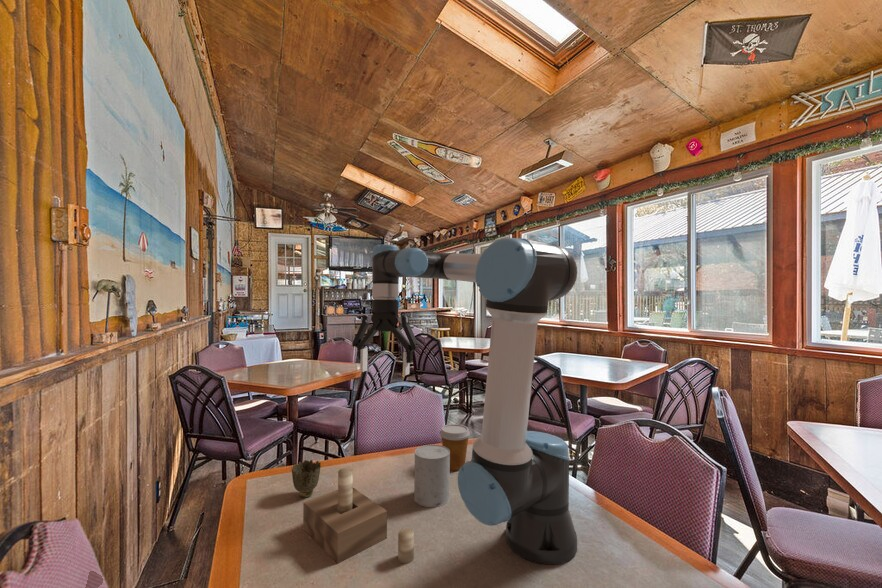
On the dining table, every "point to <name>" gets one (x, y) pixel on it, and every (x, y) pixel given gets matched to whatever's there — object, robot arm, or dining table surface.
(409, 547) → the short pin
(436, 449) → the speckled white tub
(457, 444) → the disposable coffee cup
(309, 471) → the olive hollow patterned container
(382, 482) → the dining table surface
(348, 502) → the long pin
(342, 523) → the hole block
